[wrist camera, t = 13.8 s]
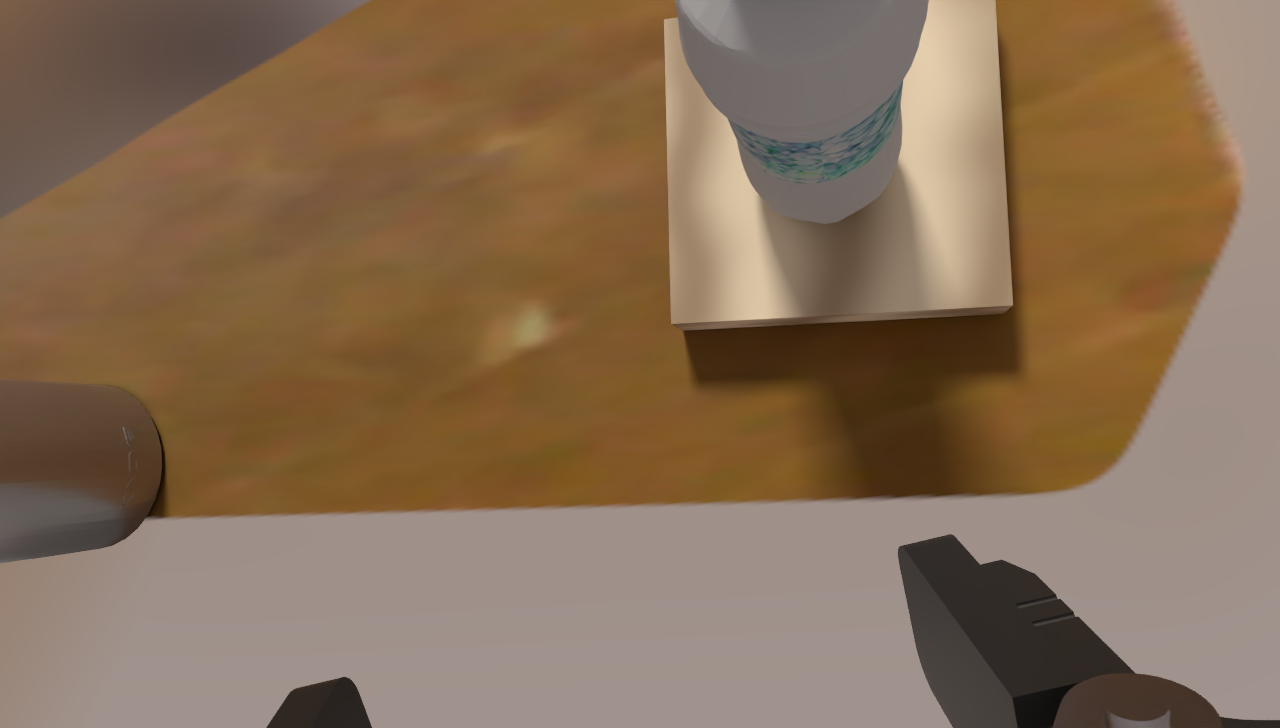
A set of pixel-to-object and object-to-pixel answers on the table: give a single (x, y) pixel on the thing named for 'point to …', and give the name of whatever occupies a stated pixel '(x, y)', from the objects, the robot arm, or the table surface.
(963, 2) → the birch stand
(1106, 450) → the table surface
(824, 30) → the bottle
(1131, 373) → the table surface
